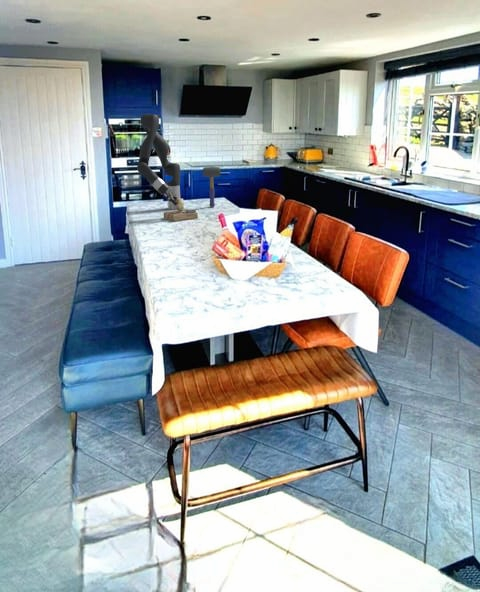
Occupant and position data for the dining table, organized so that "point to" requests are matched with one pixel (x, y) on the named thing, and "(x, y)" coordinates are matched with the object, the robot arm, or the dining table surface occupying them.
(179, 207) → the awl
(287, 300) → the dining table surface
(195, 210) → the stud finder
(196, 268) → the dining table surface
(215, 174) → the rubber mallet
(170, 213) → the subfloor panel
